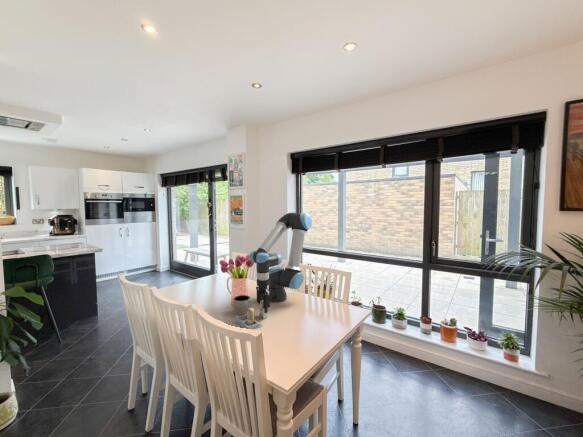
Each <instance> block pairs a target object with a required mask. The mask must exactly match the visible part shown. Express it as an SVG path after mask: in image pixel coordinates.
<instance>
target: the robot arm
mask: <svg viewBox="0 0 583 437" xmlns="http://www.w3.org/2000/svg"><path fill="white" fill-rule="evenodd" d="M312 225H313V221H312V217H311V215H310V214H309V213H306V212H288V213H285V214H284V215H283V216H281V217H280V218H279V219H278V220H277V221H276V223H275V226H274V227H273V229H272V230H271V231H270V233H269V234H268V235H267V236H266V238H265V239H264V241H263V242H262V243H261V245H260V246H259V247H258V248H257V250H253V251H251V252H250V253H249V255H248V258H249V261H250V262H251V263H254V264H256V286H255V289H256V290H255V291H256V303H258V315H259V317H260V301H261V300H263V305H264V307H263V318H262V319H267V318H268V308H270V307H271V303H272V302H273V303H280V302H284V301H286V300H287V299H288V296H287V293H286V289H285V288H288V289H290V290H292V289H293V290H298V289H300V287H302V284H303V283H304V279H305V277H304V276H305V275H304V274H303V273H302V269H301V263H302V262H301V261H302V255H303V247H304V242H305V235H306V234H307V233H308V230H310V229H311V228H312ZM289 229H290V230H291V231H292V238H291V244H290V250H289V256H288V262H287V266H285V267H284V266H278V265H280V264H282V262H283V256H282V255H281V254H280V253H279V252H275V253H274V252H273V253H270V252H271V251H272V249H273V248H274V246H275V245H276V243H277V242H278V241H279V239H280V238H281V237H282V235H283V234H284V233H285V232H287V231H288V230H289ZM270 302H271V303H270Z"/></svg>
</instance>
